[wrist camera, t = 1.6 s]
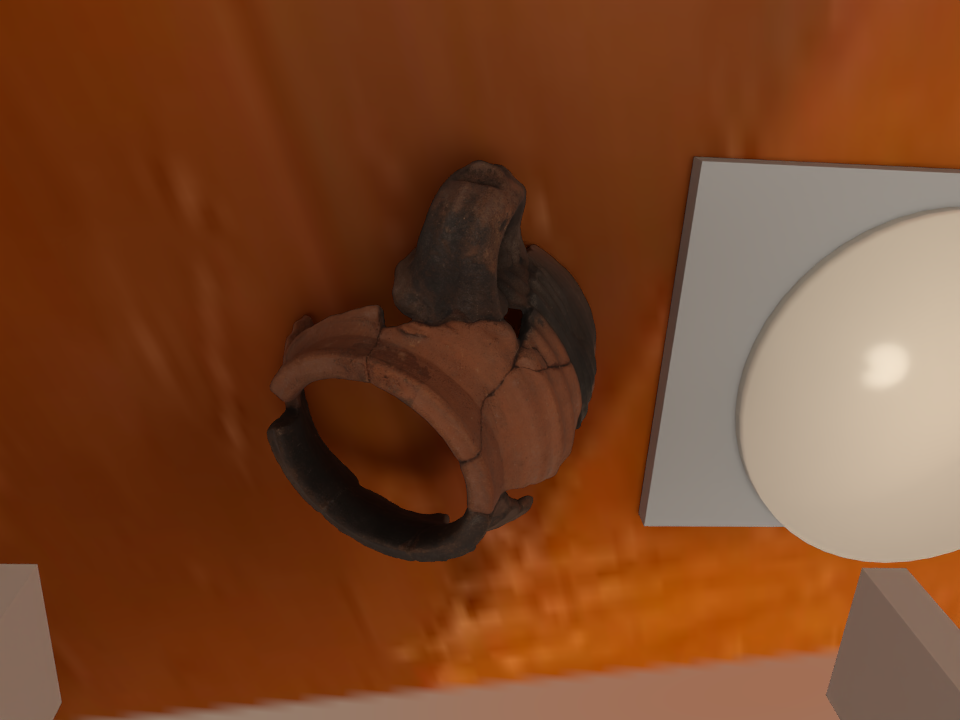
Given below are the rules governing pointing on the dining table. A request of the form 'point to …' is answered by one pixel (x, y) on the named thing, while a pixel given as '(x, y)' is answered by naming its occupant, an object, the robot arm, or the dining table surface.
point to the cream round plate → (863, 396)
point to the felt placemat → (750, 309)
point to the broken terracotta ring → (451, 371)
